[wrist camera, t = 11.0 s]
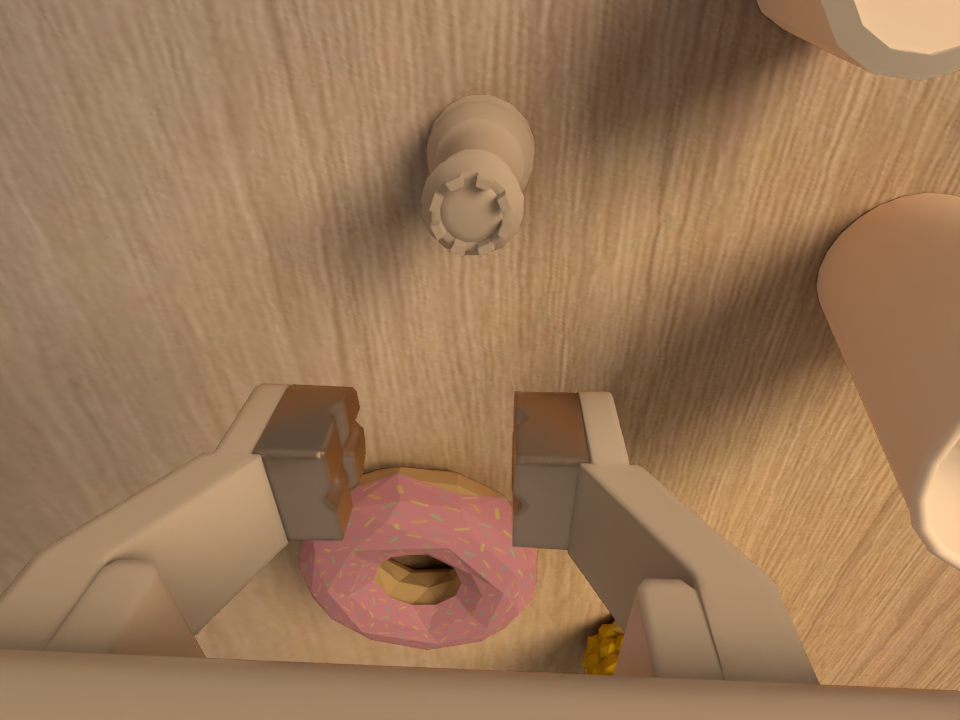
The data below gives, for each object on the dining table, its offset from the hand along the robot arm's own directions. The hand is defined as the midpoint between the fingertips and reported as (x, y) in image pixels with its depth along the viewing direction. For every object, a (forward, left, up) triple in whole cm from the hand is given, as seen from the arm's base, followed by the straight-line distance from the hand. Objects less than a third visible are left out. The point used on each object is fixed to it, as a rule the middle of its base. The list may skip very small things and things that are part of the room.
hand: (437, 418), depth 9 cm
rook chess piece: (0, 0, -17) cm, 17 cm away
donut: (+25, -4, -17) cm, 31 cm away
